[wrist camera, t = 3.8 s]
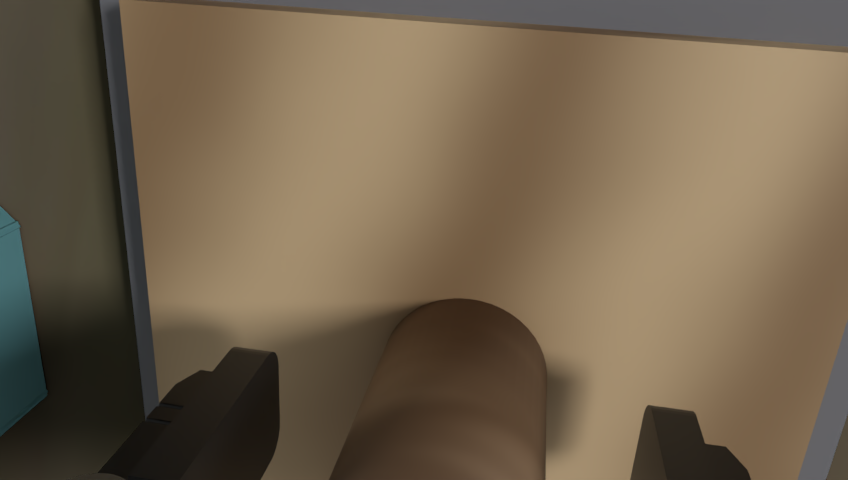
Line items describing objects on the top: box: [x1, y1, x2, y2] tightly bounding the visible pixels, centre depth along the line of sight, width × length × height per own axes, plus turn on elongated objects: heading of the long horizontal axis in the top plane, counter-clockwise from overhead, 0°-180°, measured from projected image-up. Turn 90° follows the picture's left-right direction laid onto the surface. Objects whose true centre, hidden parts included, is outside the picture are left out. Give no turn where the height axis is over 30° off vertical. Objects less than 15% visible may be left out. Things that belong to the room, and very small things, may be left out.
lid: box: [119, 0, 848, 480], centre depth 12 cm, size 13×13×8 cm
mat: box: [100, 0, 848, 480], centre depth 15 cm, size 15×15×1 cm
